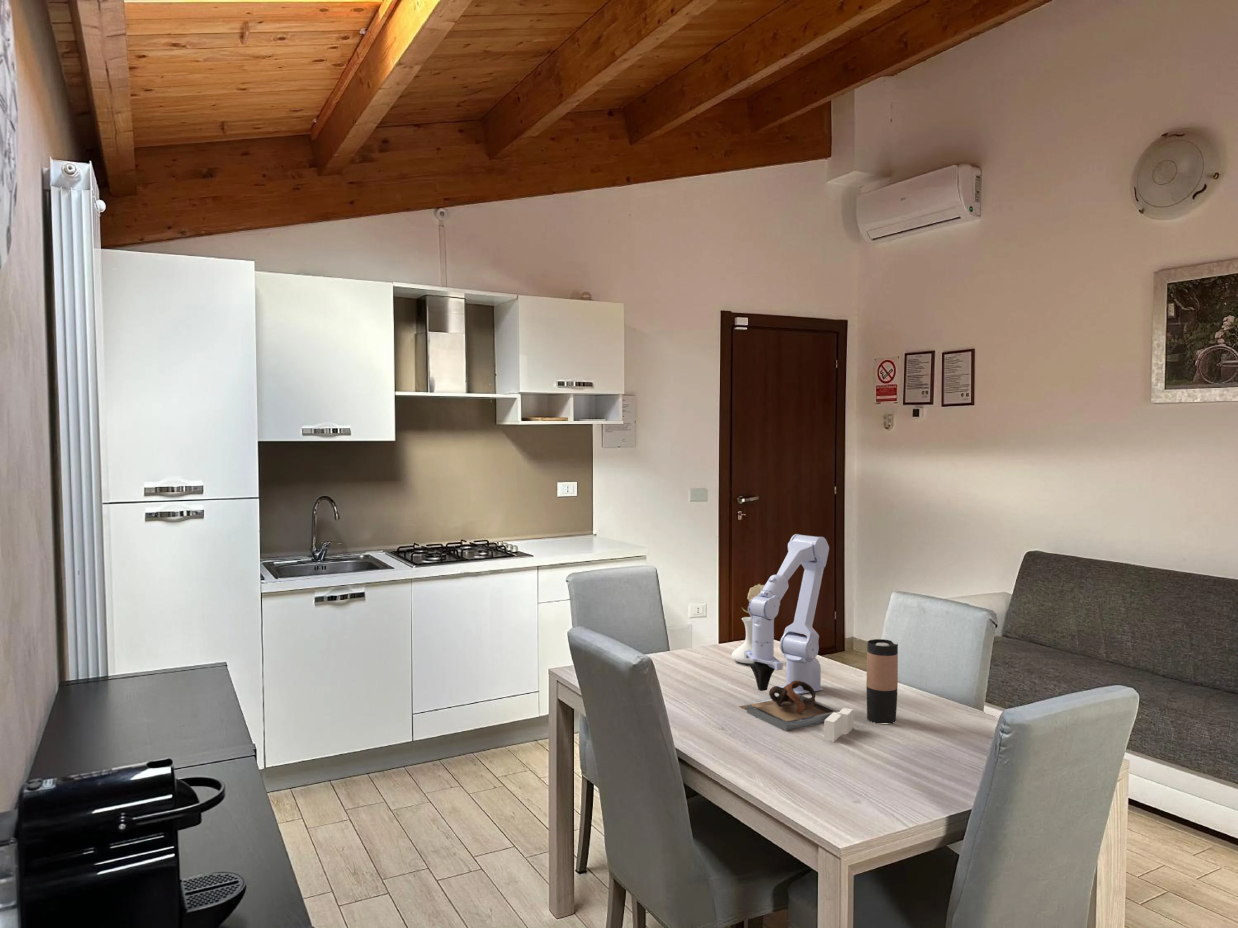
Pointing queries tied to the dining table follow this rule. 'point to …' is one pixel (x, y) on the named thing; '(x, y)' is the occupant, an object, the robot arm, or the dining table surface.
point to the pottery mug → (793, 695)
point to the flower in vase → (747, 630)
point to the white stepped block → (838, 724)
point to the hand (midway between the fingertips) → (762, 689)
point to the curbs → (793, 723)
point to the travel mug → (882, 680)
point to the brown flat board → (785, 710)
